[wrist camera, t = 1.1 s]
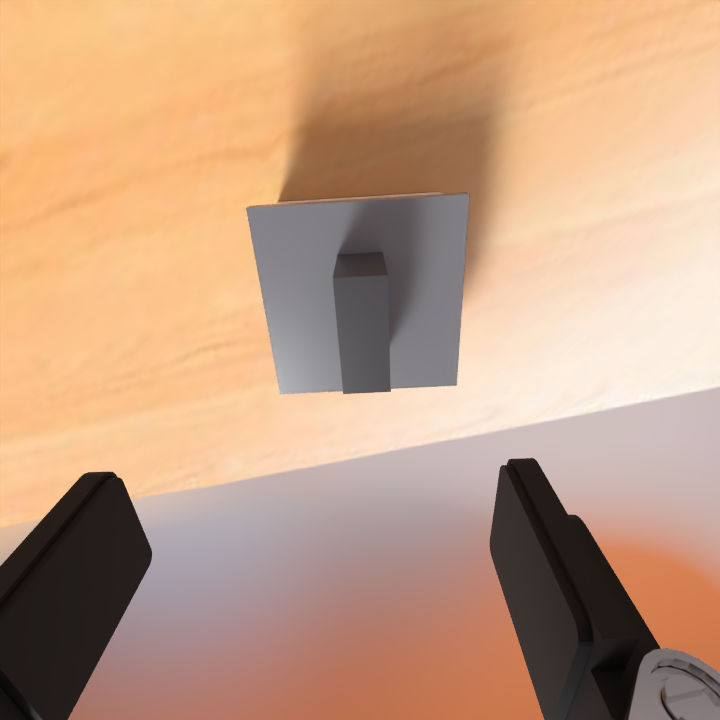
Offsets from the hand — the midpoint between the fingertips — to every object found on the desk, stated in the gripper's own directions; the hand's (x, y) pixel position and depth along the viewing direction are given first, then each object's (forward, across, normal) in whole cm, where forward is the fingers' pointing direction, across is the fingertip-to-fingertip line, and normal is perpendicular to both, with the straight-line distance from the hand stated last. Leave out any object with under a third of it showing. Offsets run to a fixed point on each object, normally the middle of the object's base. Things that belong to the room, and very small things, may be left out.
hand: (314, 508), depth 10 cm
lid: (+19, -1, +1) cm, 19 cm away
